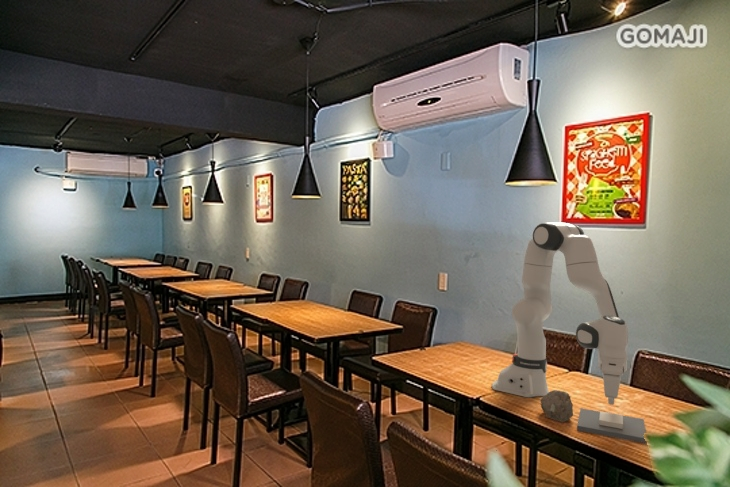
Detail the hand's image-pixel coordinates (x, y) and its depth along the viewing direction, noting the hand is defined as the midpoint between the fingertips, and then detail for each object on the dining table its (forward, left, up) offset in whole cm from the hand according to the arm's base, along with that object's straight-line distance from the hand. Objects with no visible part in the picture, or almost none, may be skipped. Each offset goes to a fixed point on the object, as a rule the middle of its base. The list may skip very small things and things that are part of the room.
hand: (611, 403), depth 167 cm
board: (0, -4, -7) cm, 8 cm away
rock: (-17, -5, -7) cm, 19 cm away
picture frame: (0, 0, -4) cm, 4 cm away
